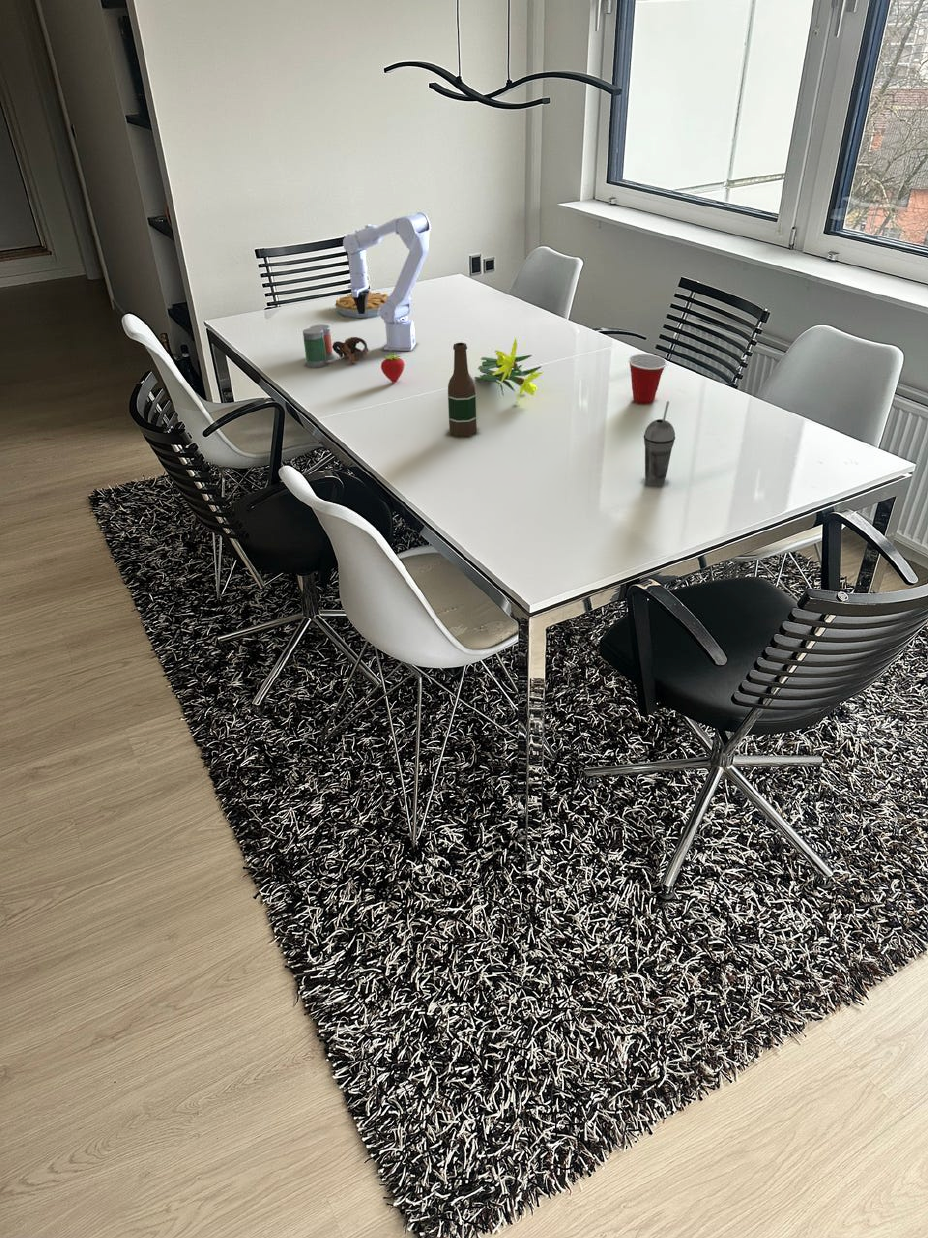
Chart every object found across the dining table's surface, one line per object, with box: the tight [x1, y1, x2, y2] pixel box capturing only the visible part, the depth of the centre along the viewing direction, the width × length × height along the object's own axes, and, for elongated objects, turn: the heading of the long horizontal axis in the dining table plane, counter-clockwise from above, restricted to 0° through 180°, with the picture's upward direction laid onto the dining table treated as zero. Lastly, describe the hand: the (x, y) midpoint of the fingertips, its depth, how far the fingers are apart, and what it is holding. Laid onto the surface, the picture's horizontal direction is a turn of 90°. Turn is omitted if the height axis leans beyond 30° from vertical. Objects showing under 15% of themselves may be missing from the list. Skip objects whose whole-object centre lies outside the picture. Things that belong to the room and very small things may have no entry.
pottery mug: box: [332, 336, 370, 365], centre depth 292 cm, size 12×10×8 cm
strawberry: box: [380, 350, 405, 384], centre depth 271 cm, size 6×8×10 cm
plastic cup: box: [628, 353, 668, 405], centre depth 252 cm, size 11×11×12 cm
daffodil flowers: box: [474, 338, 544, 407], centre depth 259 cm, size 17×15×35 cm
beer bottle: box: [447, 342, 477, 439], centre depth 234 cm, size 8×8×24 cm
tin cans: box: [302, 324, 334, 369], centre depth 290 cm, size 6×13×11 cm, turn 170°
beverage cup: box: [642, 400, 676, 487], centre depth 207 cm, size 7×7×20 cm
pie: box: [334, 292, 390, 319], centre depth 339 cm, size 22×22×5 cm
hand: (362, 313), depth 304 cm, fingers closed
